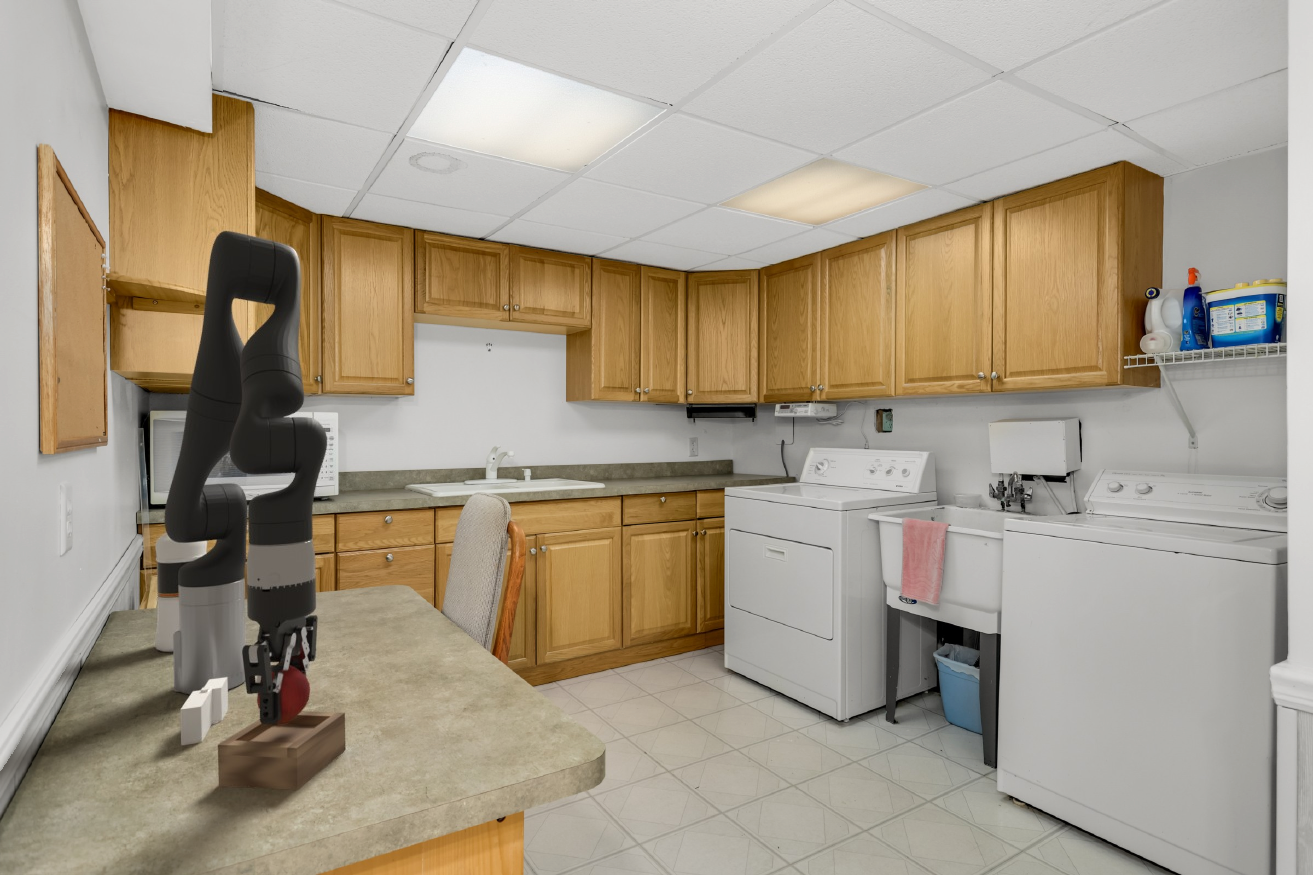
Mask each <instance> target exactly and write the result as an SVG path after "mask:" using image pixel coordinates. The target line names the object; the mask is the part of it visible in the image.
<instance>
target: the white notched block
mask: <svg viewBox="0 0 1313 875" xmlns="http://www.w3.org/2000/svg"><path fill="white" fill-rule="evenodd" d="M228 690H229V689H228V681H227V677H225V678H217V679H209V681H208V682H207V684H206V685H205V687H203V688H202V689H201V690H200V691H193V692H192V693H191V694H189V696H188V698H187V699H186V700H185V702H184V704H183V705H182V707H181V708H180V746H187V745H192V744H199V743H202V742H203V741H204V739H205V737H206V735H207V734H208V732H209V730H210V728H211V726H212V725H215V724H218V723H219V722H222V721H223V720H224V717H225V716H226V714H227V712H228V710H229V698H228V697H229V695H228V694H229V693H228V692H229V691H228Z"/></svg>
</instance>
